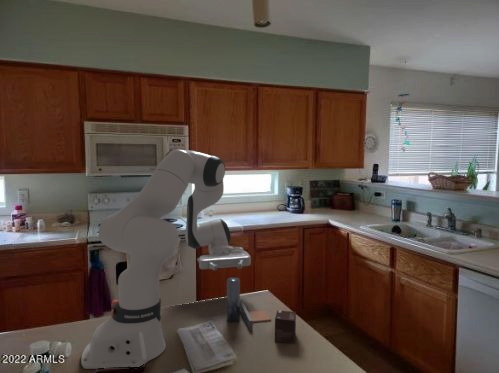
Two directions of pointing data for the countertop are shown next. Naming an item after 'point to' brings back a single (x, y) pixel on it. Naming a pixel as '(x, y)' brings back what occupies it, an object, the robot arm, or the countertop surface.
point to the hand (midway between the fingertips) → (227, 267)
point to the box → (285, 326)
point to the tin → (233, 300)
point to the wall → (246, 315)
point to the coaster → (259, 316)
